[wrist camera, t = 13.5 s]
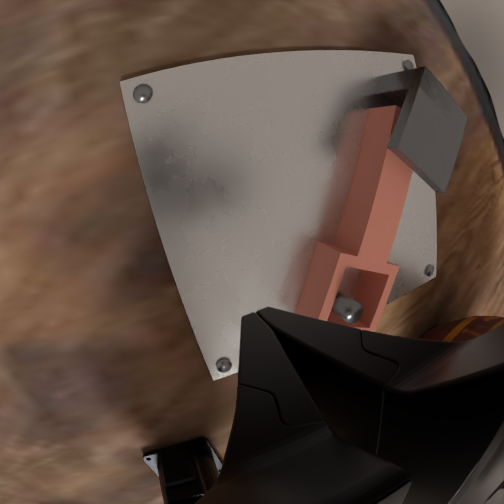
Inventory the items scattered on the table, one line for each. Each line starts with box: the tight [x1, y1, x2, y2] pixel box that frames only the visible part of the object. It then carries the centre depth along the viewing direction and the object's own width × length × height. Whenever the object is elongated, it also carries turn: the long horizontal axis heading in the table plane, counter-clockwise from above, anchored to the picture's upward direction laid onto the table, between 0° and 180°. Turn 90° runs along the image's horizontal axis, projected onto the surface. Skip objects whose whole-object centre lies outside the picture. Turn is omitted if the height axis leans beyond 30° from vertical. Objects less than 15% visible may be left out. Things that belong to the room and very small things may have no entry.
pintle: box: [331, 289, 363, 324], centre depth 22 cm, size 2×2×4 cm
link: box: [295, 105, 413, 332], centre depth 22 cm, size 17×6×3 cm, turn 164°
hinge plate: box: [120, 50, 437, 381], centre depth 22 cm, size 22×24×1 cm
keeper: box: [373, 66, 468, 193], centre depth 20 cm, size 7×6×5 cm
